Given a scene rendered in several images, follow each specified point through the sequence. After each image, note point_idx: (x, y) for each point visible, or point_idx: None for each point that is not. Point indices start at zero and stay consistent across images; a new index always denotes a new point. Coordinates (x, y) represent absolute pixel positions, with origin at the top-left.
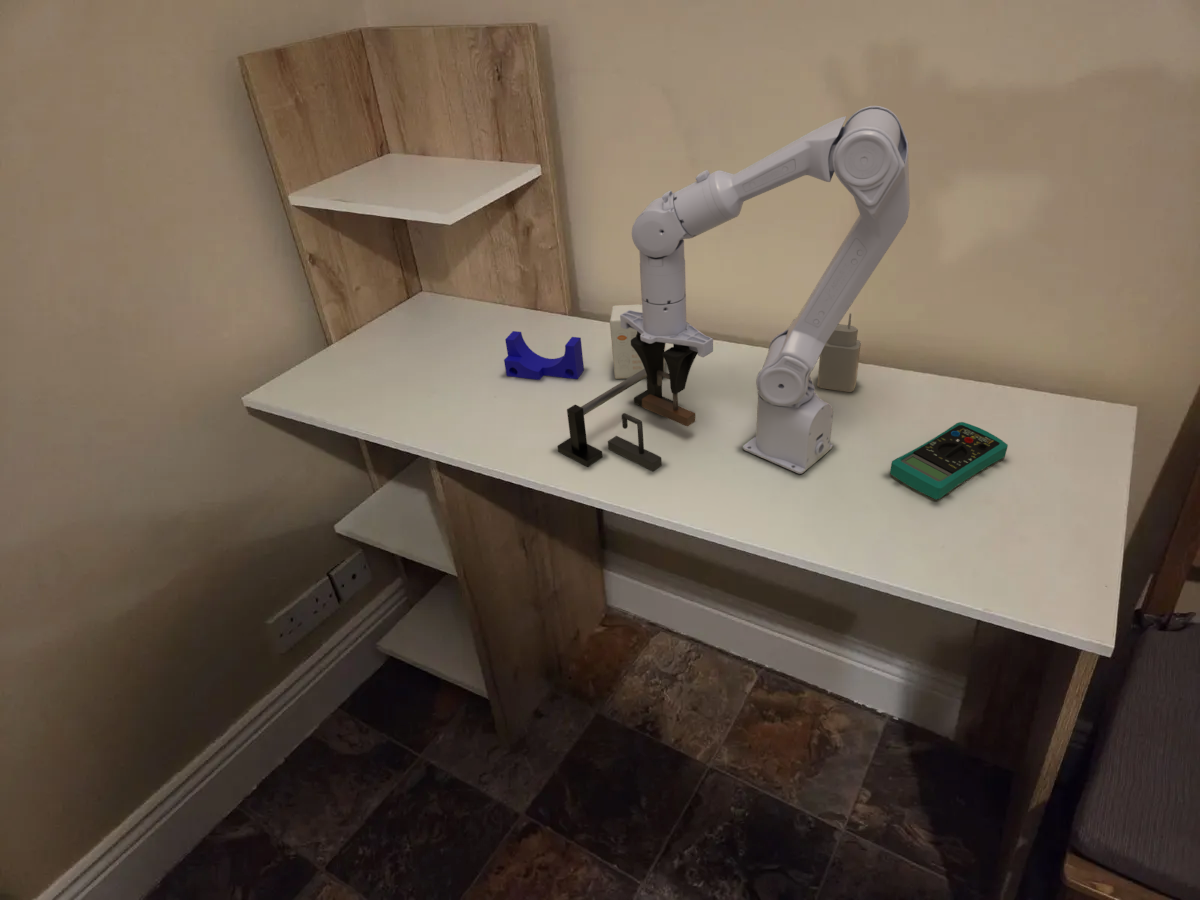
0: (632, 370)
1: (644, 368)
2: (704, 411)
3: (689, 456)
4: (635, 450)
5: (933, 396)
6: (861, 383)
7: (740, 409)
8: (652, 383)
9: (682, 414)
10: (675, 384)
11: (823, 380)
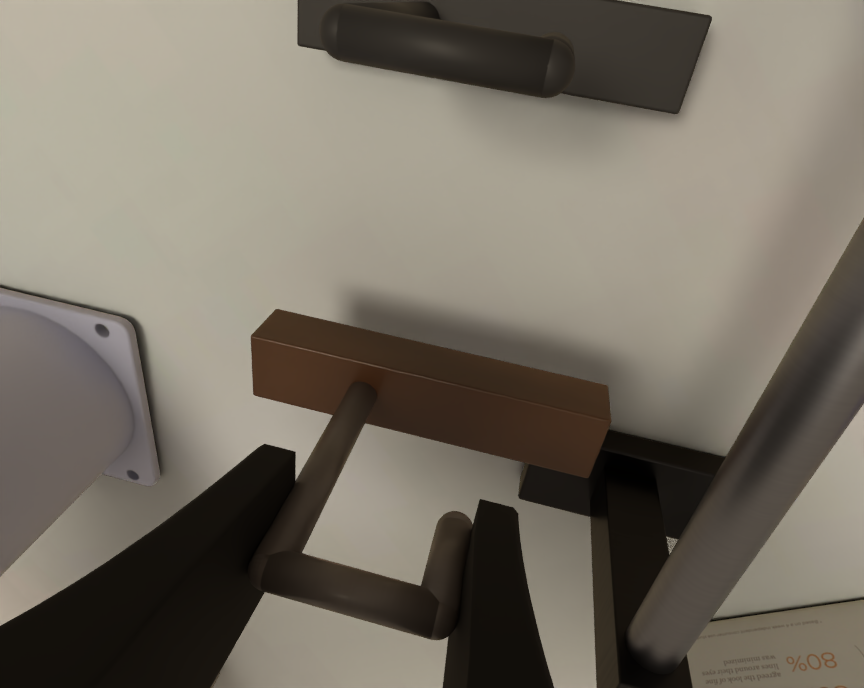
0: (833, 645)
1: (683, 653)
2: (407, 483)
3: (262, 187)
4: (470, 20)
5: None
6: None
7: None
8: (482, 510)
9: (297, 361)
10: (189, 503)
11: None
